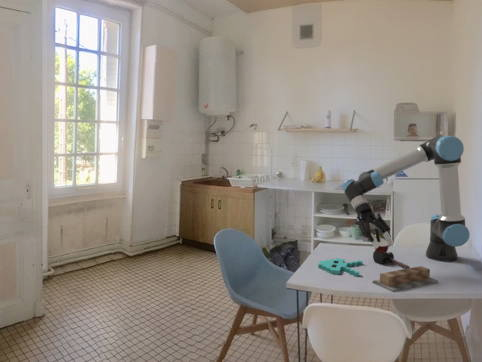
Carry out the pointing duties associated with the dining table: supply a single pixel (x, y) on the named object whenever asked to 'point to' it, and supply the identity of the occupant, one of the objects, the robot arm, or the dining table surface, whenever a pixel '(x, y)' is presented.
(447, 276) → the dining table surface
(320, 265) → the alien figure
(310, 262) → the dining table surface
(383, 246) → the cocoa
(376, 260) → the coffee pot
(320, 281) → the dining table surface
